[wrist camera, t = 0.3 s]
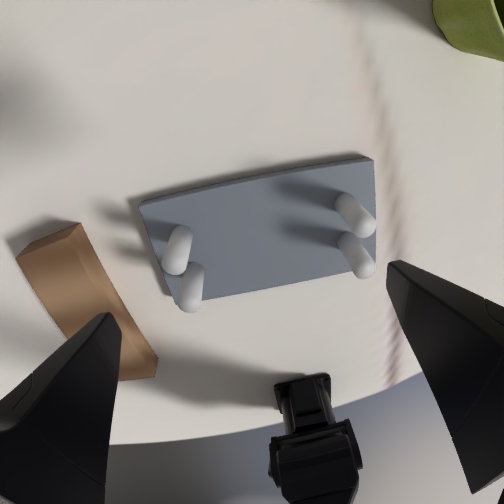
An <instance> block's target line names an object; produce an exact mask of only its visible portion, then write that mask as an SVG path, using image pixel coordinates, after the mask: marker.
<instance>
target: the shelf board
mask: <svg viewBox="0 0 504 504" xmlns="http://www.w3.org/2000/svg"><path fill="white" fill-rule="evenodd" d="M15 259H16V261H17V262H18V264H19V266H20V268H21V269H22V271H23V273H24V274H25V276H26V278H27V279H28V281H29V283H30V284H31V286H32V288H33V289H34V291H35V292H36V294H37V296H38V297H39V299H40V300H41V302H42V303H43V305H44V306H45V308H46V309H47V311H48V312H49V314H50V315H51V317H52V318H53V319H54V321H55V322H56V324H57V325H58V327H59V328H60V329H61V331H62V332H63V333H64V335H65V336H66V337H67V339H70V338H71V337H72V336H73V335H74V334H75V333H76V332H78V331H79V330H80V329H81V328H82V327H83V326H84V325H86V324H87V323H88V322H89V321H90V320H91V319H93V318H94V317H95V316H96V315H97V314H99V313H101V312H111V313H112V314H113V316H114V318H115V320H116V322H117V323H118V325H119V327H120V329H121V332H122V344H121V356H120V369H119V378H118V381H125V380H135V379H144V378H152V377H155V372H156V367H157V362H158V357H157V356H156V354H155V353H154V351H153V350H152V348H151V347H150V345H149V344H148V342H147V340H146V339H145V337H144V336H143V334H142V333H141V331H140V330H139V328H138V326H137V325H136V323H135V322H134V320H133V318H132V317H131V315H130V313H129V312H128V310H127V308H126V307H125V305H124V303H123V302H122V300H121V298H120V296H119V295H118V293H117V291H116V290H115V288H114V286H113V284H112V282H111V281H110V279H109V277H108V275H107V273H106V272H105V270H104V268H103V266H102V264H101V262H100V260H99V258H98V256H97V255H96V253H95V251H94V249H93V247H92V245H91V243H90V241H89V239H88V237H87V235H86V233H85V231H84V228H83V226H82V224H81V223H79V224H76V225H74V226H71V227H69V228H66V229H64V230H61V231H59V232H56V233H54V234H52V235H49V236H47V237H44V238H42V239H40V240H37V241H35V242H33V243H30V244H29V245H28V246H27V247H26V248H25V249H24V250H23V251H22V252H21V253H20V254H19V255H18V256H17V257H16V258H15Z"/></svg>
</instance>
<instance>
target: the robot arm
mask: <svg viewBox="0 0 504 504" xmlns="http://www.w3.org/2000/svg"><path fill="white" fill-rule="evenodd" d="M386 288H387V291H388V294H389V296H390V299H391V301H392V304H393V307H394V309H395V312H396V314H397V317H398V320H399V322H400V325H401V327H402V329H403V332H404V334H405V336H406V338H407V340H408V342H409V344H410V346H411V348H412V350H413V352H414V354H415V356H416V358H417V360H418V362H419V364H420V366H421V368H422V370H423V372H424V375H425V377H426V379H427V381H428V383H429V386H430V388H431V390H432V392H433V394H434V397H435V399H436V401H437V404H438V406H439V408H440V411H441V413H442V415H443V418H444V420H445V423H446V425H447V427H448V430H449V432H450V435H451V437H452V441H453V443H454V446H455V448H456V451H457V454H458V456H459V459H460V462H461V465H462V467H463V470H464V473H465V476H466V479H467V482H468V485H469V488H470V491H471V493H472V494H474V493H476V492H478V491H480V490H482V489H483V488H485V487H487V486H488V485H490V484H492V483H493V482H495V481H497V480H498V479H500V478H501V477H503V476H504V307H503V306H500V305H498V304H496V303H494V302H492V301H490V300H488V299H484V297H482V296H479V295H477V294H475V293H473V292H471V291H469V290H467V289H465V288H462V287H460V286H458V285H456V284H454V283H452V282H449V281H447V280H445V279H443V278H440V277H438V276H436V275H434V274H432V273H429V272H427V271H425V270H423V269H420V268H418V267H416V266H413V265H411V264H409V263H407V262H404V261H402V260H396V261H392V262H389V263H388V266H387V278H386ZM121 344H122V332H121V329H120V327H119V325H118V323H117V322H116V320H115V318H114V316H113V314H112V313H111V312H101V313H99V314H97V315H96V316H95V317H94V318H93V319H91V320H90V321H89V322H88V323H87V324H86V325H84V326H83V327H82V328H81V329H80V330H79V331H78V332H76V333H75V334H74V335H73V336H72V337H71V338H70V339H68V340H67V341H66V342H65V343H64V344H63V345H62V346H61V347H59V348H58V349H57V350H56V351H55V352H54V353H53V354H52V355H51V356H49V357H48V358H47V359H46V360H45V361H44V362H43V363H42V364H41V365H40V366H38V367H37V368H36V369H35V370H34V371H33V373H31V374H30V375H29V376H28V377H27V378H25V379H24V380H23V381H22V382H21V383H20V384H19V385H18V386H17V387H16V388H14V389H13V390H12V391H11V392H10V393H9V394H7V395H6V396H5V397H4V398H3V399H1V400H0V504H104V502H105V487H104V486H105V483H106V470H107V458H108V449H109V440H110V432H111V424H112V417H113V410H114V403H115V396H116V390H117V384H118V378H119V369H120V356H121ZM274 391H275V395H276V399H277V402H278V406H279V410H280V413H281V414H283V420H284V427H285V433H286V435H283V436H279V437H276V436H275V437H271V443H270V444H269V451H270V461H269V469H268V475H269V477H271V478H273V480H274V481H275V484H276V486H277V488H281V491H282V495H283V497H284V498H285V499H286V500H287V501H288V502H289V503H290V504H353V501H354V498H355V496H356V494H357V491H358V486H359V475H358V470H360V469H362V468H363V466H362V459H361V455H360V450H359V447H358V443H357V440H356V438H355V435H354V432H353V429H352V426H351V423H350V420H349V419H345V420H344V421H341V422H338V423H336V421H335V417H334V413H333V410H332V406H331V378H330V375H329V374H325V375H320V376H316V377H311V378H307V379H302V380H297V381H292V382H287V383H281V384H276V385H275V386H274ZM498 504H504V489H503V491H502V494H501V496H500V499H499V501H498Z"/></svg>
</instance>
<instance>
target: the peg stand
mask: <svg viewBox="0 0 504 504" xmlns="http://www.w3.org/2000/svg"><path fill="white" fill-rule="evenodd" d="M139 210H140V213H141V216H142V219H143V221H144V224H145V227H146V230H147V233H148V235H149V238H150V241H151V244H152V246H153V249H154V252H155V254H156V257H157V259H158V262H159V265H160V267H161V270H162V272H163V275H164V277H165V280H166V282H167V285H168V287H169V290H170V292H171V294H172V297H173V299H174V302H175V304H176V305H178V307H179V308H180V309H181V310H182V311H184V312H187V313H194V312H196V311H198V310H199V309H200V307H201V301H202V300H208V299H214V298H219V297H225V296H230V295H236V294H241V293H246V292H252V291H257V290H262V289H267V288H272V287H278V286H283V285H288V284H293V283H297V282H302V281H307V280H312V279H317V278H322V277H326V276H331V275H336V274H340V273H345V272H349V271H353V273H354V274H355V276H356V277H357V278H359V279H365V278H368V277H370V276H371V275H372V274H373V273H374V271H375V268H376V264H375V260H376V204H375V177H374V160H372V159H370V158H369V157H366V158H359V159H352V160H345V161H338V162H331V163H325V164H318V165H312V166H306V167H300V168H294V169H289V170H283V171H278V172H272V173H267V174H262V175H257V176H251V177H246V178H242V179H237V180H232V181H227V182H223V183H218V184H213V185H209V186H204V187H200V188H196V189H191V190H187V191H183V192H179V193H175V194H171V195H167V196H163V197H159V198H155V199H151V200H147V201H143V202H141V204H140V205H139Z"/></svg>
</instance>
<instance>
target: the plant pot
mask: <svg viewBox="0 0 504 504" xmlns="http://www.w3.org/2000/svg"><path fill="white" fill-rule="evenodd" d="M432 7H433V15H434V18H435V21H436V24H437V25H438V27H439V28H440V29H441V30H442V32H443V33H444V35H445V37H446V39H447V41H448V42H449V43H450V44H451V45H452V46H454V47H455V48H457V49H458V50H460V51H462V52H465V53H470V54H475V55H479V56H484V57H488V58H492V59H496V60H499V61H503V62H504V0H433V4H432Z"/></svg>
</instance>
